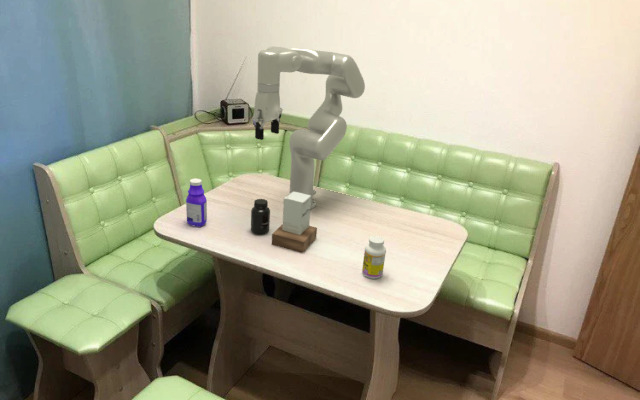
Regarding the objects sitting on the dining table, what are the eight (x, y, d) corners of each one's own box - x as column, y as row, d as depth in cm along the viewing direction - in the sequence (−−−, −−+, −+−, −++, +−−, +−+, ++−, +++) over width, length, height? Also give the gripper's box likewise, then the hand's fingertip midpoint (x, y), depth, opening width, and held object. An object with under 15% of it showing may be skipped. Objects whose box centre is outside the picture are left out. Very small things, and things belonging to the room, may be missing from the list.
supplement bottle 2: (360, 268, 162) (364, 233, 156) (380, 268, 162) (385, 234, 157) (363, 279, 156) (368, 244, 150) (384, 280, 156) (389, 244, 151)
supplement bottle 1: (266, 236, 177) (267, 206, 172) (248, 233, 178) (248, 203, 173) (271, 228, 183) (272, 199, 178) (254, 225, 184) (254, 196, 179)
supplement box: (300, 235, 170) (302, 202, 165) (281, 230, 173) (283, 197, 168) (309, 227, 176) (311, 195, 171) (291, 222, 179) (293, 190, 174)
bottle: (209, 222, 184) (208, 179, 177) (202, 228, 179) (200, 184, 172) (192, 218, 185) (190, 175, 178) (184, 225, 180) (182, 181, 173)
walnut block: (286, 232, 182) (286, 220, 180) (316, 239, 179) (317, 227, 177) (271, 246, 172) (271, 233, 170) (302, 254, 168) (303, 242, 166)
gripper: (273, 82, 177) (271, 128, 184) (244, 89, 163) (244, 139, 170) (291, 86, 174) (288, 132, 181) (263, 93, 160) (262, 143, 167)
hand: (267, 135), depth 176 cm, fingers open, 9 cm apart
